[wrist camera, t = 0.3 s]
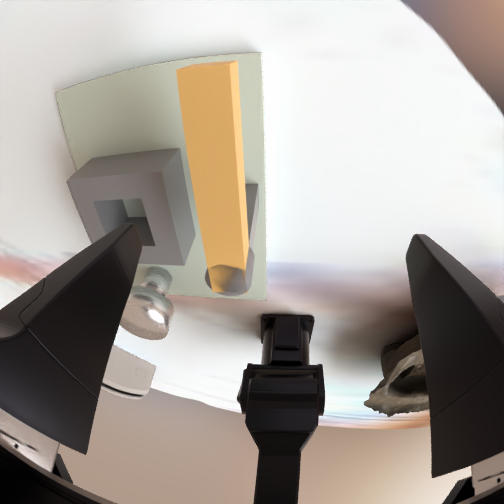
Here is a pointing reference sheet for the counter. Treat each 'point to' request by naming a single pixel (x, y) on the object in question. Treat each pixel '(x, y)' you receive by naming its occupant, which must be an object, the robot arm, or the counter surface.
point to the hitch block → (159, 167)
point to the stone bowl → (401, 380)
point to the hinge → (127, 374)
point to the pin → (149, 306)
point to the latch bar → (217, 171)
